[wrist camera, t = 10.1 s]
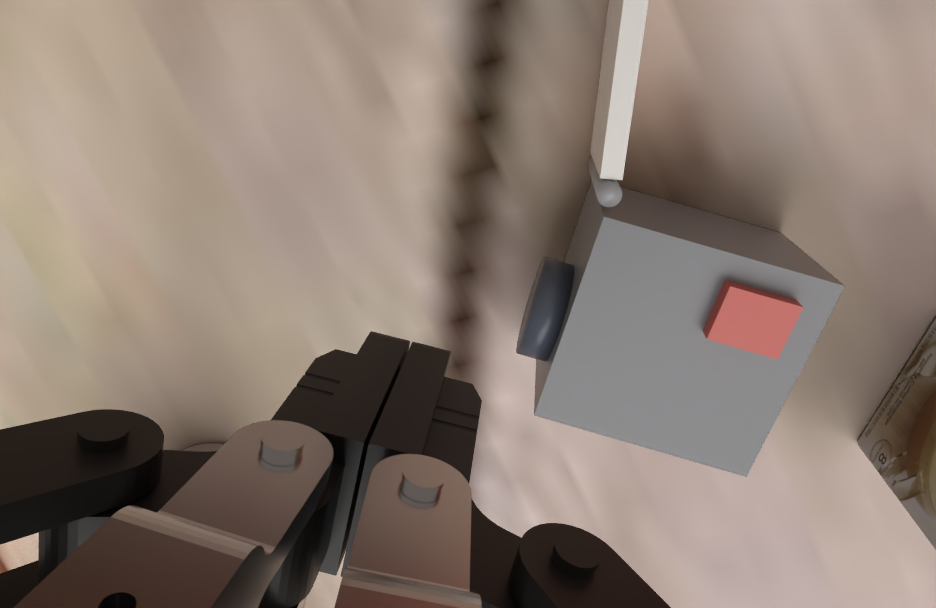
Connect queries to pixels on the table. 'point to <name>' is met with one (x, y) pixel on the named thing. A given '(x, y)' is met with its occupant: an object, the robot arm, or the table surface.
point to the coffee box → (909, 436)
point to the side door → (616, 97)
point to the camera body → (673, 328)
